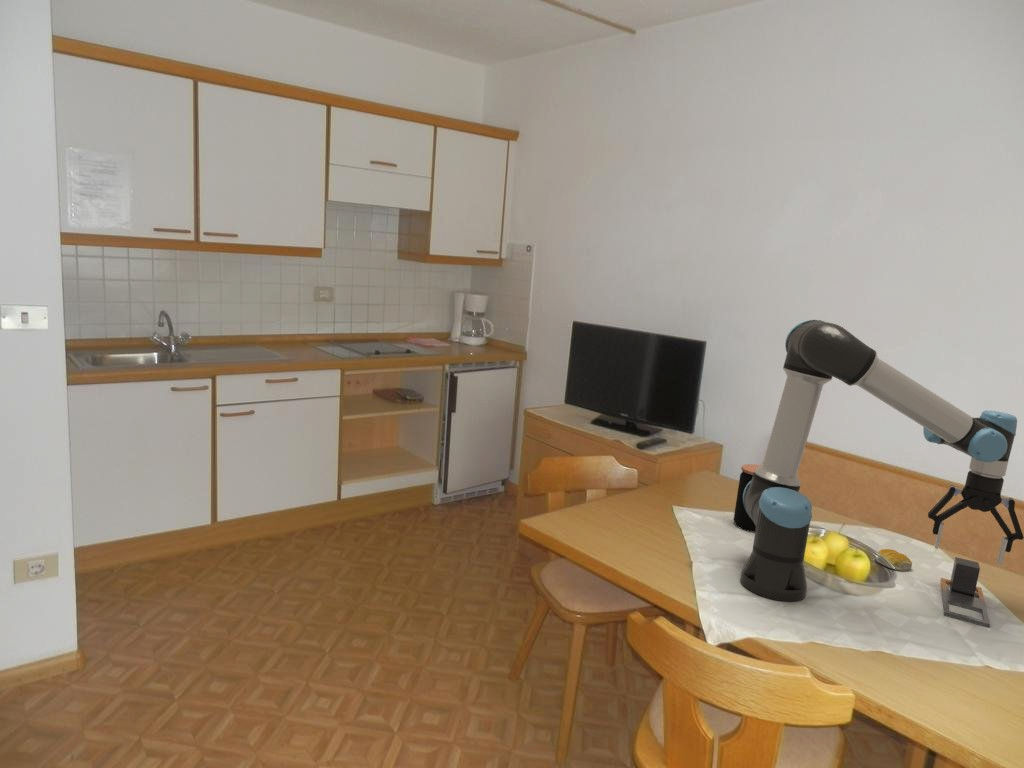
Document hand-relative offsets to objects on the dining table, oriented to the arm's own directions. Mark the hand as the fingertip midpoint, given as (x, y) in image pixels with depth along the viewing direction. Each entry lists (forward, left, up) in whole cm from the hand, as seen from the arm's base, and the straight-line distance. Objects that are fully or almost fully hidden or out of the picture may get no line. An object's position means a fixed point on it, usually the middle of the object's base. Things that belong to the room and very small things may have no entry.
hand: (967, 555), depth 179 cm
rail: (-7, 0, -10) cm, 12 cm away
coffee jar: (+11, +54, -10) cm, 56 cm away
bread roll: (+9, +15, -10) cm, 20 cm away
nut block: (0, 0, -10) cm, 10 cm away
